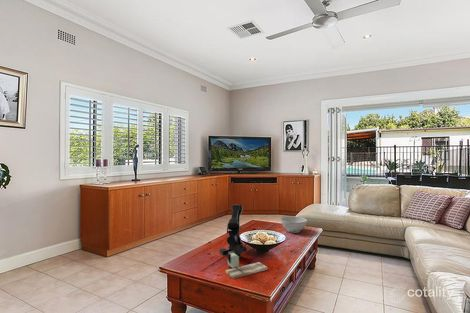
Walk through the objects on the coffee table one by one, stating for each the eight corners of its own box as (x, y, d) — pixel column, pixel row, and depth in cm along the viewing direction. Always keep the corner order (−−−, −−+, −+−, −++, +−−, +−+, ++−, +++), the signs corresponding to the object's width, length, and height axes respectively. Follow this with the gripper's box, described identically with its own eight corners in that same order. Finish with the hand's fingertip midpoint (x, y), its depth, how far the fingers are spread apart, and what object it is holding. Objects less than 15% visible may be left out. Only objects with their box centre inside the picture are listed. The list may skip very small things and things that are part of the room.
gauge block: (225, 262, 183) (225, 252, 183) (231, 261, 186) (231, 251, 186) (232, 268, 175) (232, 257, 175) (238, 266, 177) (238, 256, 177)
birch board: (225, 272, 171) (225, 270, 171) (259, 264, 185) (259, 261, 185) (233, 278, 162) (233, 276, 162) (267, 269, 176) (267, 267, 176)
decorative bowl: (308, 228, 274) (308, 217, 274) (305, 236, 249) (305, 223, 249) (282, 226, 283) (282, 215, 283) (277, 233, 258) (278, 221, 258)
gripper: (226, 245, 167) (226, 269, 167) (250, 241, 176) (250, 263, 177) (219, 240, 177) (219, 263, 177) (242, 236, 186) (242, 258, 186)
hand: (233, 262), depth 179 cm, fingers closed on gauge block, 5 cm apart
